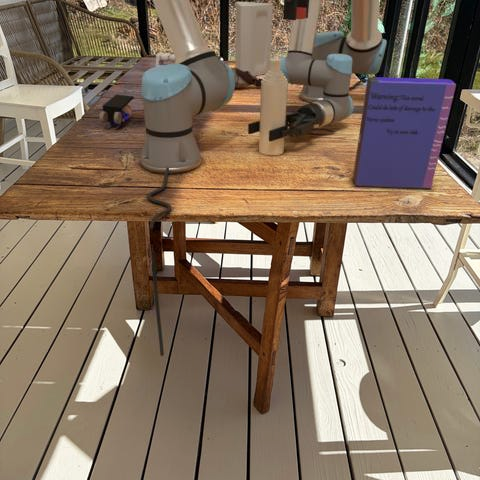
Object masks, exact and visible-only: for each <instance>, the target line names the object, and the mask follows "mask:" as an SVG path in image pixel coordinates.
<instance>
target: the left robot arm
mask: <svg viewBox="0 0 480 480" xmlns="http://www.w3.org/2000/svg"><path fill="white" fill-rule="evenodd" d="M151 1H152V3H153V6H154V8H155V11H156V14H157V15H158V18H159V21H160V23H161V25H162V26H161V27H162V28H163V30H164V33H165V36H166V38H167V41H168V42H169V46H170V48H171V50H172V54H174V56H175V58H176V61H175V62H174V63H168V64H162V65H160V66H156V65H155V66H153V67H151V68H149V69H147V70H146V71H145V72H144V73H143V74H142V76H141V90H140V91H141V92H140V93H141V96H142V97H141V98H142V106H143V115H144V125H145V126H144V127H145V138H144V142H143V146H142V150H141V154H140V162H141V166H142V168H144V169H145V170H146V171H149V172H151V173H156V174H163V175H164V176H163V184H162V185H161V187H159V188H157V189H154V190H152V191H150V192H149V193H148V194H147V199H148V201H150V202H152V203H155V204H159V205H161V206H164V207H166V208H167V209H164V210H161V211H160V212H158V213H156V214H155V215H154V216H153V217H152V218H151V220H150V222H149V229H154V225H155V223H156V221H157V220H158V219H159V218H160V217H161V216H163V215H166V214H169V213H170V212H171V211H172V206H171V204H170V203H168V202H166V201H163V200H159V199H155V198H153V197H152V196H153V195H155V194H158V193H160V192H162V191H164V190H165V189H166V186H167V183H168V177H169V176H168V175H169V174H170V175H172V174H173V175H175V174H182V173H187V172H190V171H193V170H195V169H197V168H198V167H199V166H201V163H202V155H201V151H200V149H199V146H198V143H197V141H196V137H195V135H194V130H193V129H194V126H193V117H196V116H199V115H202V114H206V113H208V112H212V111H213V112H214V111H217V110H219V109H220V108H223V107H224V106H226V105H228V104H229V103H230V101H231V100H232V99H233V96H234V93H235V90H236V88H235V79H234V75H233V72H232V69H231V67H230V66H229V64H226V62H224V61H221V60H219V58H218V56H217V55H218V54H217V53H216V51H215V50H214V49H213V48H210V47H208V46H207V43H206V40H205V37H204V35H203V33H202V30H201V28H200V26H199V23H198V20H197V17H196V15H195V12H194V9H193V7H192V4H191V2H190V0H151ZM297 7H304V8H306V18H308V10H309V0H283V12H282V13H283V14H282V19H283V20H285V21H293V20H296V13H297ZM150 255H151V269H152V285H153V295H154V296H153V297H154V306H155V313H156V314H155V316H156V324H157V325H156V326H157V332H158V333H157V334H158V343H159V353H160V356H161V357H163V356H164V355H165V352H164V342H163V332H162V331H163V330H162V321H161V311H160V303H159V302H160V301H159V290H158V289H159V288H158V278H157V263H156V261H157V260H156V250H150Z"/></svg>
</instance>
